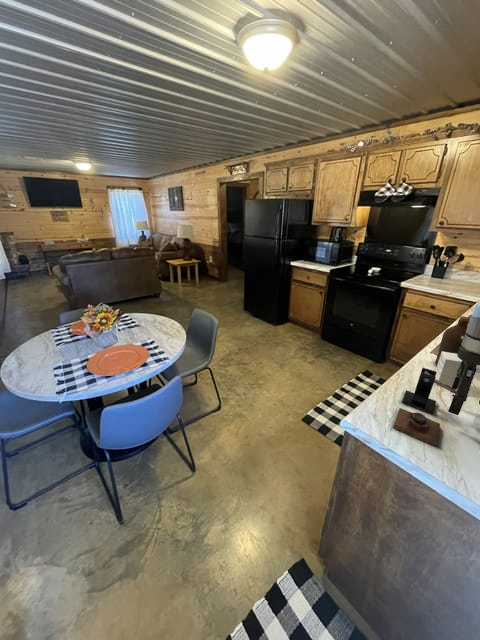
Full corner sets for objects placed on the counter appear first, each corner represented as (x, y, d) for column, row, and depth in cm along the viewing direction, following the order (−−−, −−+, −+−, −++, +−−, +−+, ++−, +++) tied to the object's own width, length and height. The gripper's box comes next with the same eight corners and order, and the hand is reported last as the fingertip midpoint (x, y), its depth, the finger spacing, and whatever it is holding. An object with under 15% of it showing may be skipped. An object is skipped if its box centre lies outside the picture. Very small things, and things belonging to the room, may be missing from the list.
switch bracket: (435, 403, 99) (446, 372, 94) (433, 415, 94) (445, 382, 88) (405, 392, 105) (414, 363, 100) (401, 402, 99) (411, 372, 94)
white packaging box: (453, 379, 114) (463, 354, 109) (458, 389, 107) (468, 363, 102) (433, 375, 116) (441, 350, 112) (436, 384, 110) (445, 358, 105)
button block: (438, 427, 88) (441, 419, 87) (436, 446, 81) (439, 437, 80) (398, 411, 95) (400, 403, 94) (392, 427, 88) (395, 419, 86)
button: (425, 419, 87) (426, 415, 86) (424, 426, 84) (425, 422, 84) (412, 414, 89) (414, 410, 88) (411, 420, 86) (412, 416, 86)
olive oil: (443, 372, 119) (462, 322, 109) (428, 360, 128) (443, 312, 119) (467, 373, 118) (487, 322, 109) (450, 360, 128) (467, 313, 119)
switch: (458, 393, 92) (463, 389, 91) (458, 401, 89) (463, 396, 87) (422, 373, 98) (426, 369, 97) (420, 379, 94) (424, 375, 93)
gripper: (461, 333, 95) (443, 382, 103) (459, 361, 77) (438, 417, 85) (488, 339, 91) (467, 389, 99) (493, 370, 73) (467, 428, 81)
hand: (453, 402), depth 92 cm, fingers open, 13 cm apart
